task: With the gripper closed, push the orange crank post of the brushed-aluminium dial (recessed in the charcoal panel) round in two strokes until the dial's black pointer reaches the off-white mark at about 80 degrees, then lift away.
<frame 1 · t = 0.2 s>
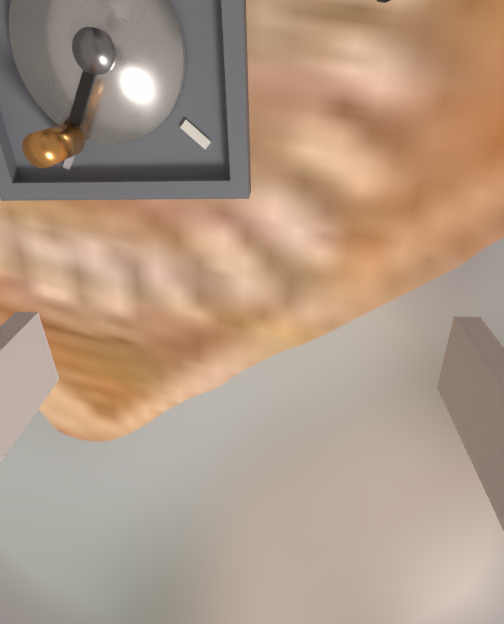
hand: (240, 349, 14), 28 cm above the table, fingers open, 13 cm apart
panel: (108, 52, 34), on the table
dial: (87, 57, 31), point 4 cm above the table, hinge at 0.0°
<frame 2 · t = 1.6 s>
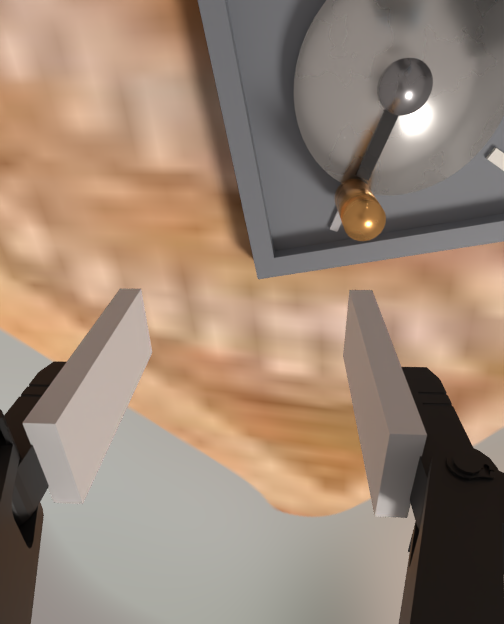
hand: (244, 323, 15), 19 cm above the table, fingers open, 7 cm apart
panel: (393, 84, 28), on the table
dial: (411, 96, 24), point 4 cm above the table, hinge at 0.0°
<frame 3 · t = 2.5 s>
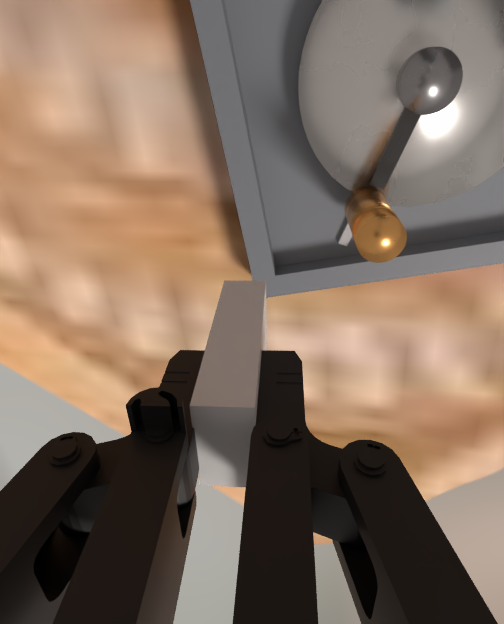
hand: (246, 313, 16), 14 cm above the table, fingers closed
panel: (414, 78, 24), on the table
dial: (437, 92, 21), point 4 cm above the table, hinge at 0.0°
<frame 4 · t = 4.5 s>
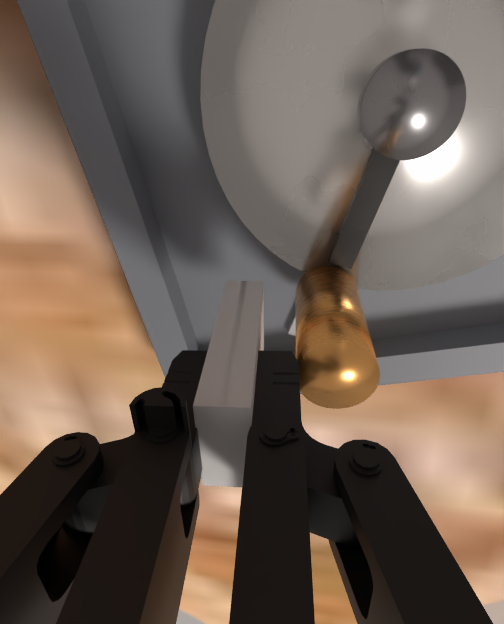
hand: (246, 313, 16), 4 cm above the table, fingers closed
panel: (391, 98, 16), on the table
dial: (423, 126, 12), point 4 cm above the table, hinge at 1.9°, touching gripper
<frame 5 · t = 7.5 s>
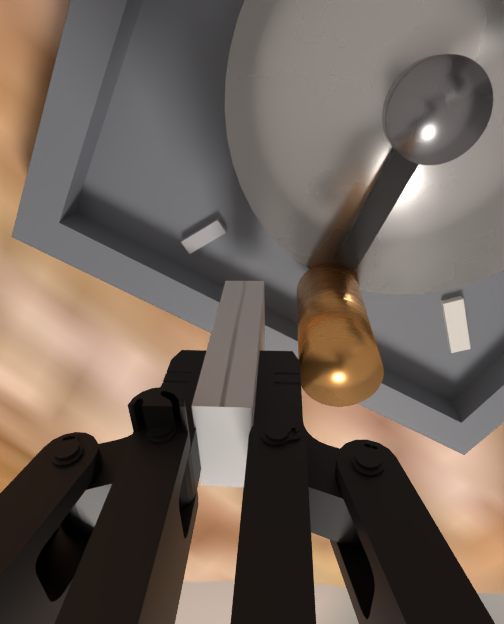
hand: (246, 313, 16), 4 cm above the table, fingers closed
panel: (411, 103, 16), on the table
dial: (450, 132, 12), point 4 cm above the table, hinge at 35.8°, touching gripper
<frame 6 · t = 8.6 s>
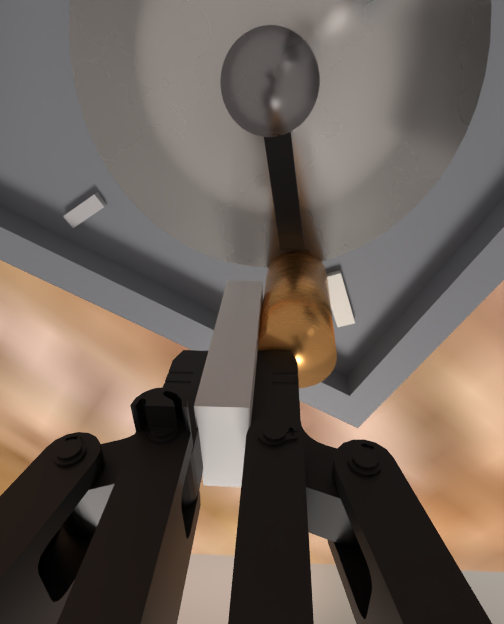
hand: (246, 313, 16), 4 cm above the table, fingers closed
panel: (274, 77, 16), on the table
dial: (275, 99, 12), point 4 cm above the table, hinge at 67.7°, touching gripper
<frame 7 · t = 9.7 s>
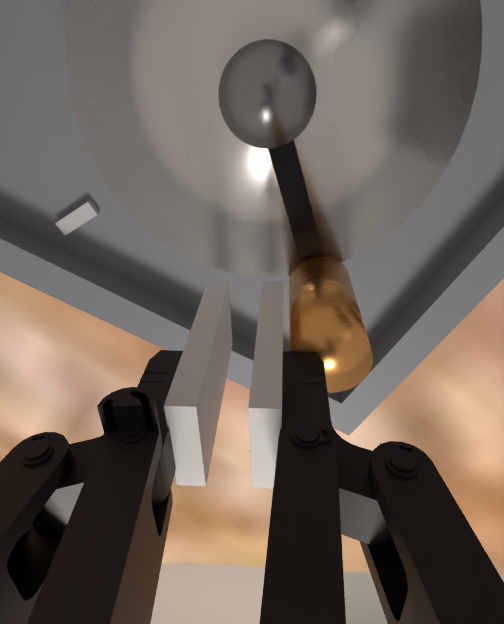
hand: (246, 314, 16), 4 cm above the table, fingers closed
panel: (269, 89, 16), on the table
dial: (275, 110, 12), point 5 cm above the table, hinge at 77.0°, touching gripper
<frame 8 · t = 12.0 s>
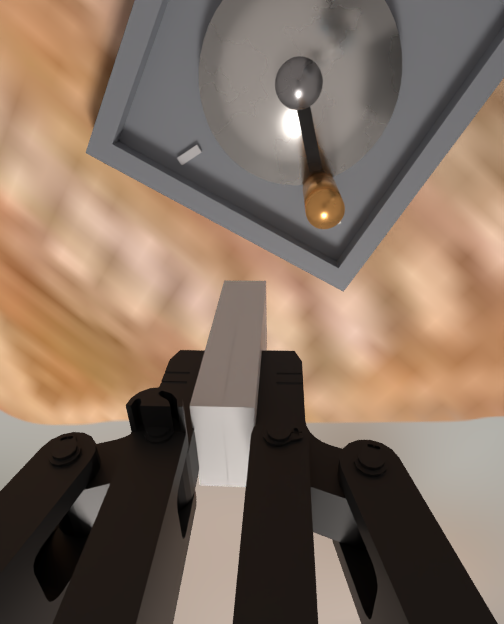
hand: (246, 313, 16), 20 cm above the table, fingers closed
panel: (297, 81, 30), on the table
dial: (303, 89, 26), point 4 cm above the table, hinge at 74.0°
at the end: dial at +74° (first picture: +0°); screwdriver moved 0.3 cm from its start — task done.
